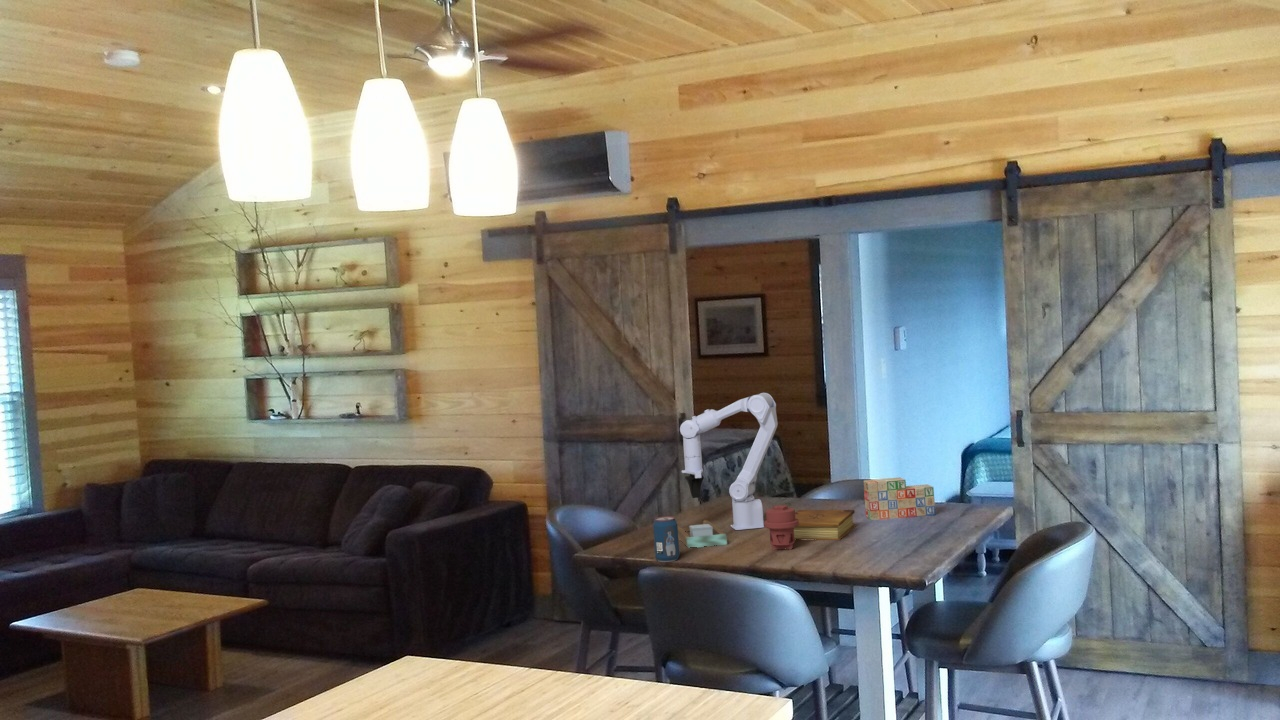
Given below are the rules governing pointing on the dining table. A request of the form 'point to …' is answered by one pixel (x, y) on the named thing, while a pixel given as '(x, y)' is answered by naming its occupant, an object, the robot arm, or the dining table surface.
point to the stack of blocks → (897, 499)
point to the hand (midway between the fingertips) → (695, 497)
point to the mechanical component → (781, 526)
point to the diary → (823, 524)
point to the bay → (702, 537)
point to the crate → (700, 530)
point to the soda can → (666, 539)
